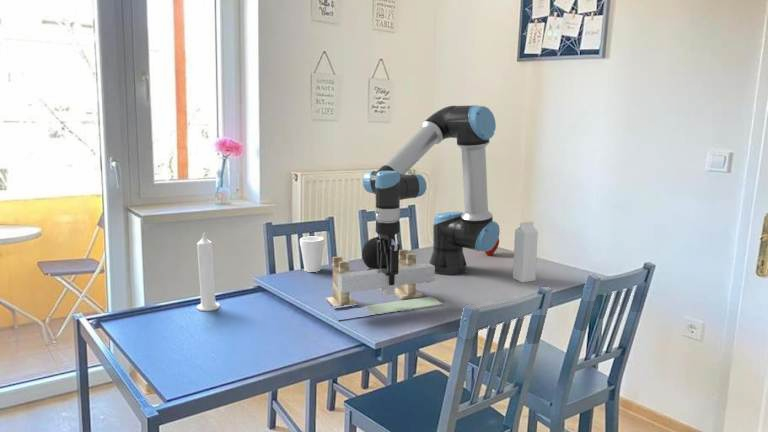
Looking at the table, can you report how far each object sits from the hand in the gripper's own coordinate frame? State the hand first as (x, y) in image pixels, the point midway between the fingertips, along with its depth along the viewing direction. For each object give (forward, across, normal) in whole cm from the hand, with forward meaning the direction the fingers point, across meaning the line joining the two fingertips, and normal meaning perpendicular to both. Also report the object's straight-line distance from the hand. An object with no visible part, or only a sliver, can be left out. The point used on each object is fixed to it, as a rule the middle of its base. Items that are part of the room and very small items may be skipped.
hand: (387, 291), depth 183 cm
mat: (+6, 0, 0) cm, 6 cm away
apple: (+6, -45, +68) cm, 82 cm away
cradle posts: (+6, -11, 0) cm, 12 cm away
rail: (-2, 0, 0) cm, 2 cm away
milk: (+6, -9, +60) cm, 61 cm away
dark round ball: (+6, -36, +12) cm, 38 cm away
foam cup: (+6, -52, -10) cm, 53 cm away
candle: (+6, -24, -53) cm, 58 cm away
